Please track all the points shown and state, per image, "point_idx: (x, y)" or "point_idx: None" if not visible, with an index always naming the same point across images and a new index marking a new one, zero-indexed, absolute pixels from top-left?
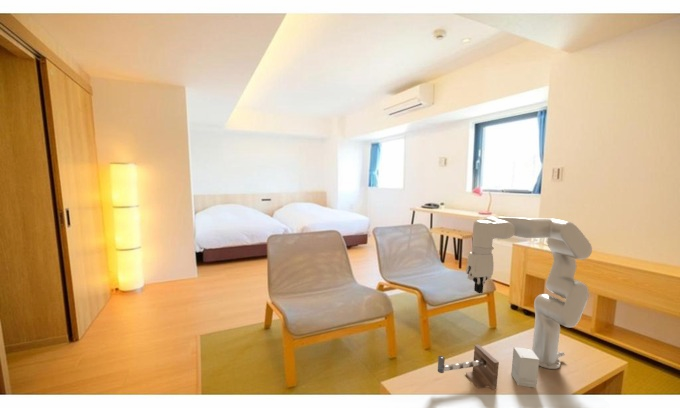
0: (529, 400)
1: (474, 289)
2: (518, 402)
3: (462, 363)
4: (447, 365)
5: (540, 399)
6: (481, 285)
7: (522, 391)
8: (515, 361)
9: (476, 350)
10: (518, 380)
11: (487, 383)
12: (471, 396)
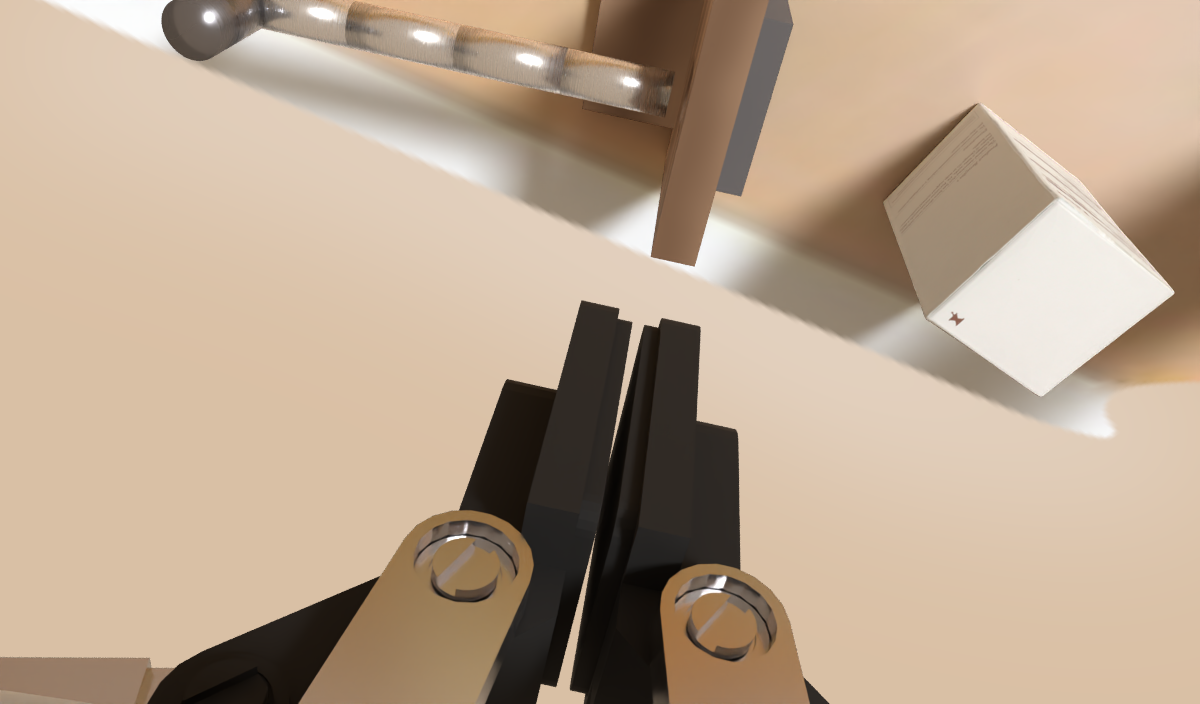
0: (807, 308)
1: (580, 311)
2: (727, 289)
3: (457, 57)
4: (304, 19)
5: (879, 330)
6: (573, 667)
7: (849, 248)
8: (965, 212)
9: (711, 2)
10: (889, 220)
11: (670, 118)
12: (482, 135)
